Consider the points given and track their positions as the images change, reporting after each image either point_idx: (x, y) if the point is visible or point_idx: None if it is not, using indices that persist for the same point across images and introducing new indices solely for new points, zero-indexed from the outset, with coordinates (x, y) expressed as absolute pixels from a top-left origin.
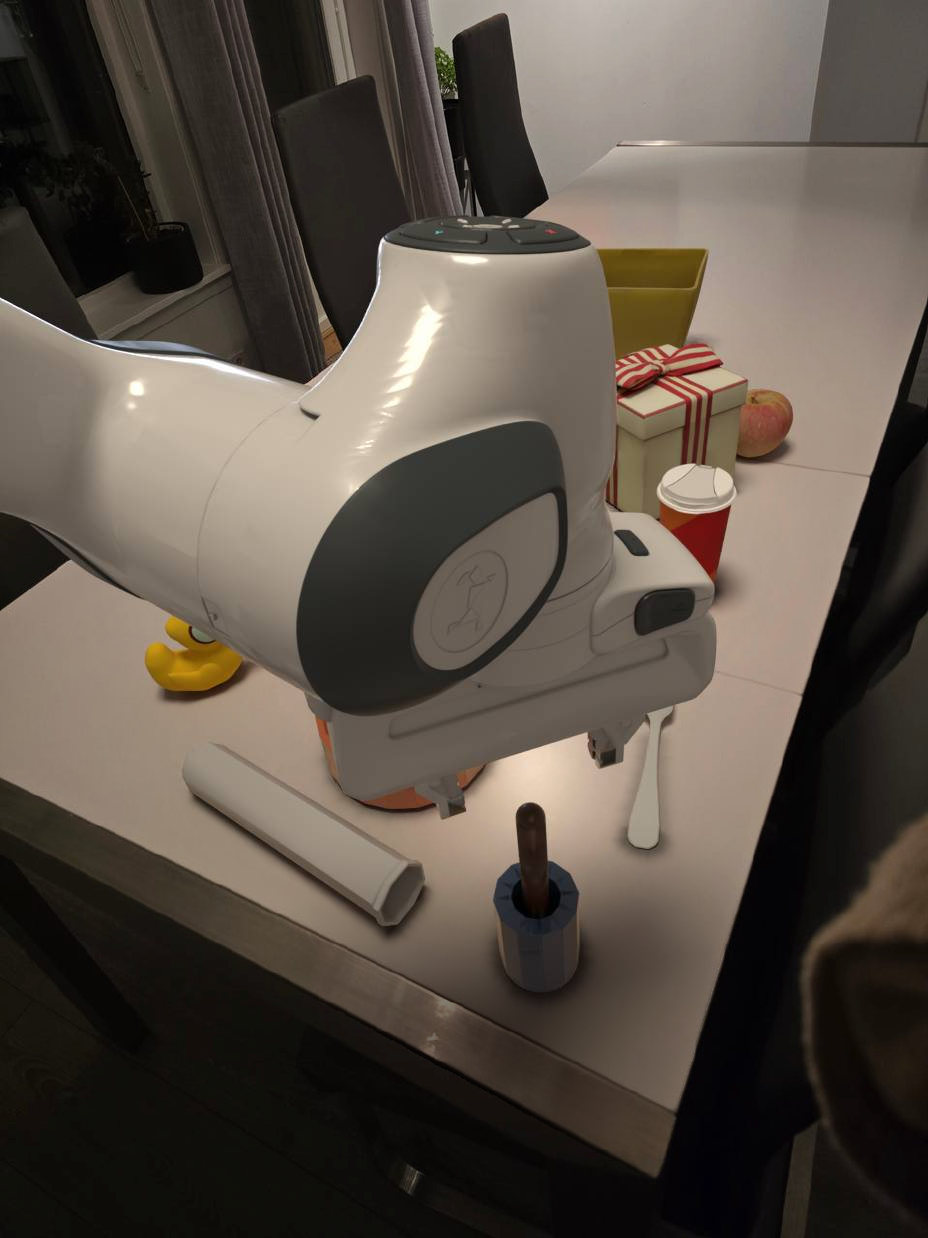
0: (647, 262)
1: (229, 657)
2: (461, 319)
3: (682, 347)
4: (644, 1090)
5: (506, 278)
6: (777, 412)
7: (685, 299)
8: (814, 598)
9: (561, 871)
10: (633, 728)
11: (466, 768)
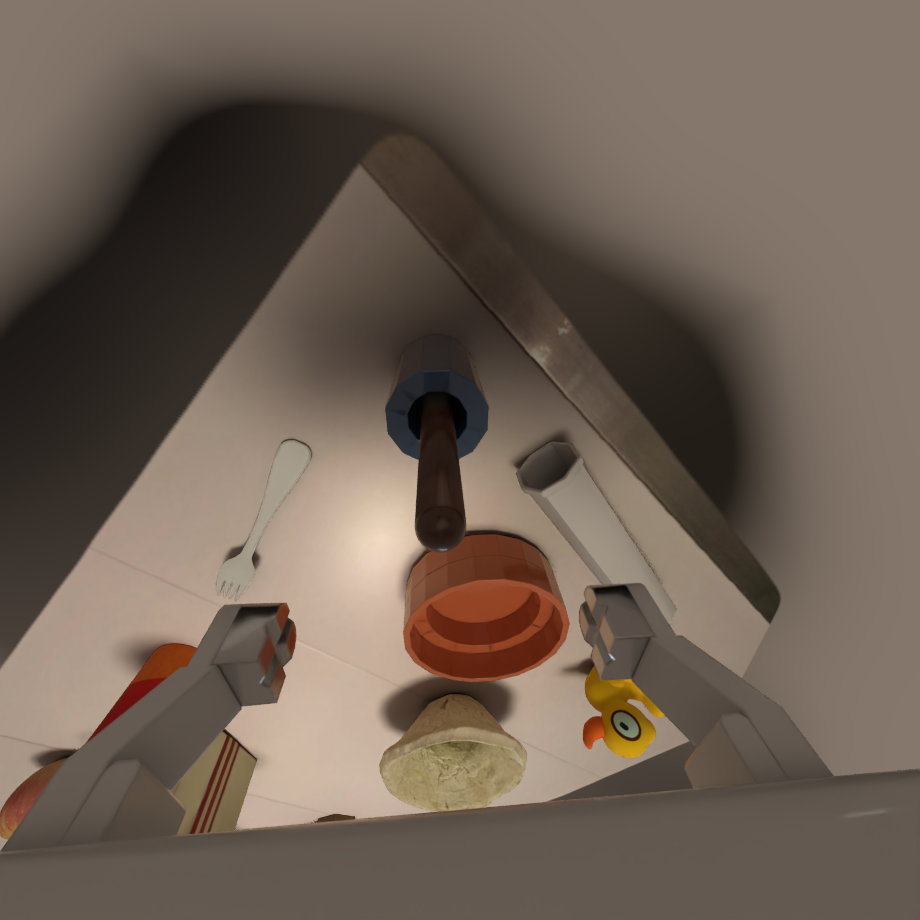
0: None
1: (600, 688)
2: None
3: None
4: (379, 195)
5: None
6: (13, 818)
7: None
8: (42, 628)
9: (397, 438)
10: (116, 737)
11: (710, 811)
